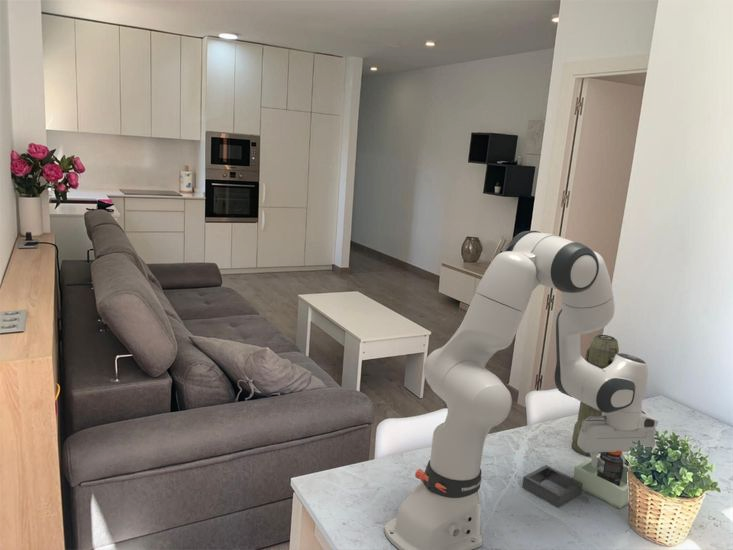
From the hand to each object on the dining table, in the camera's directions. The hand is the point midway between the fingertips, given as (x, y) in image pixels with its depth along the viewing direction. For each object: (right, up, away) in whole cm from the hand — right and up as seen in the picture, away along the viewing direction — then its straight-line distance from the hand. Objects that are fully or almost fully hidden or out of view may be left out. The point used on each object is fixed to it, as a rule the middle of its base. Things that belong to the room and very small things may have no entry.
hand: (611, 465), depth 149 cm
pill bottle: (-1, -6, +1) cm, 6 cm away
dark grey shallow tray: (-16, -6, -2) cm, 17 cm away
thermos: (+2, -3, +21) cm, 22 cm away
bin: (-1, -6, +1) cm, 7 cm away
